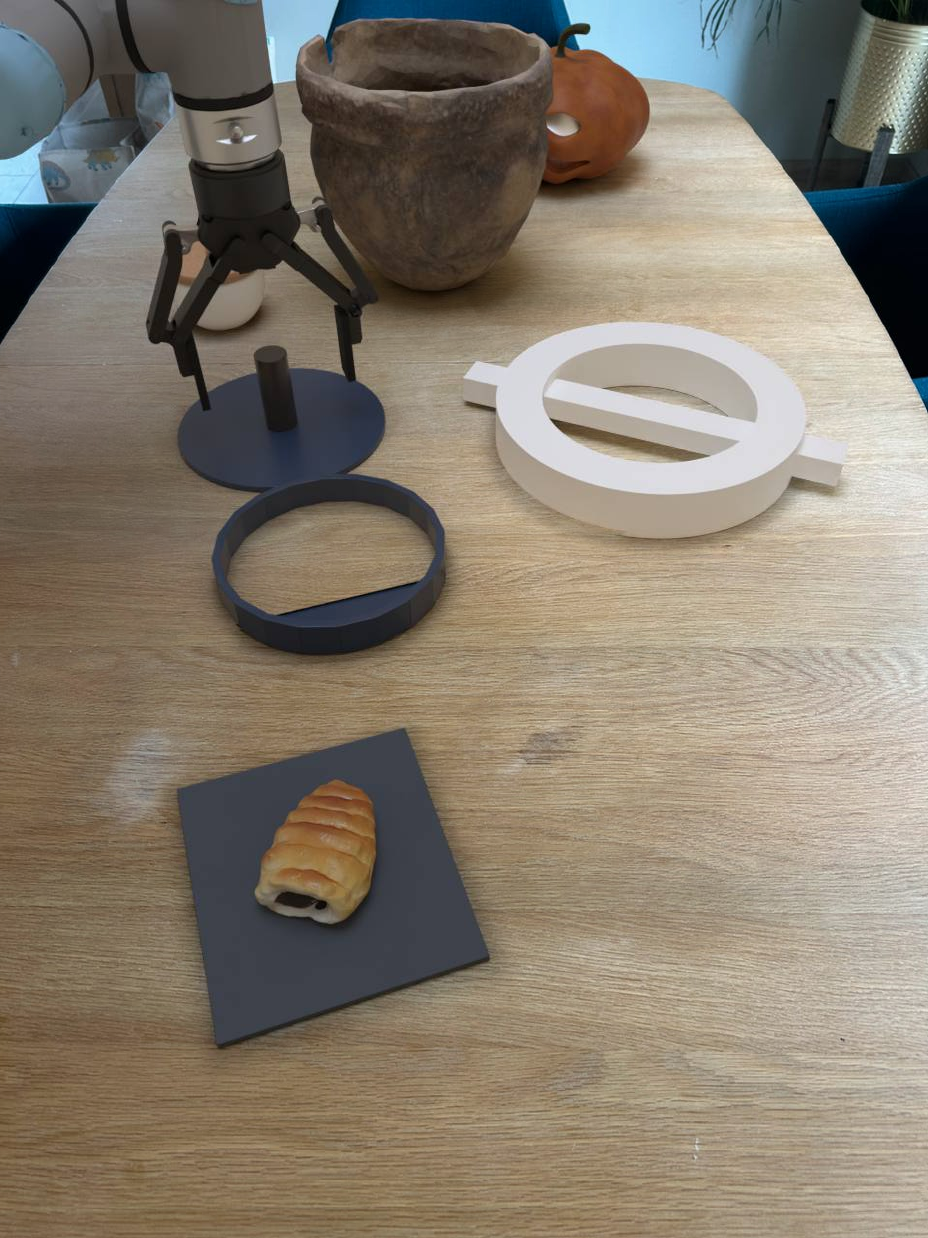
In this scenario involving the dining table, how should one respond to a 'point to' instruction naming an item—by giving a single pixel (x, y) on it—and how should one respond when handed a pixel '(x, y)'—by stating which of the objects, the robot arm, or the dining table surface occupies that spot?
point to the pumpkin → (591, 112)
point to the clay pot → (428, 141)
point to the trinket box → (222, 293)
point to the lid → (281, 426)
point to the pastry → (321, 856)
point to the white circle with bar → (652, 428)
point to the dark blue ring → (343, 619)
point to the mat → (300, 946)
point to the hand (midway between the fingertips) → (278, 388)
